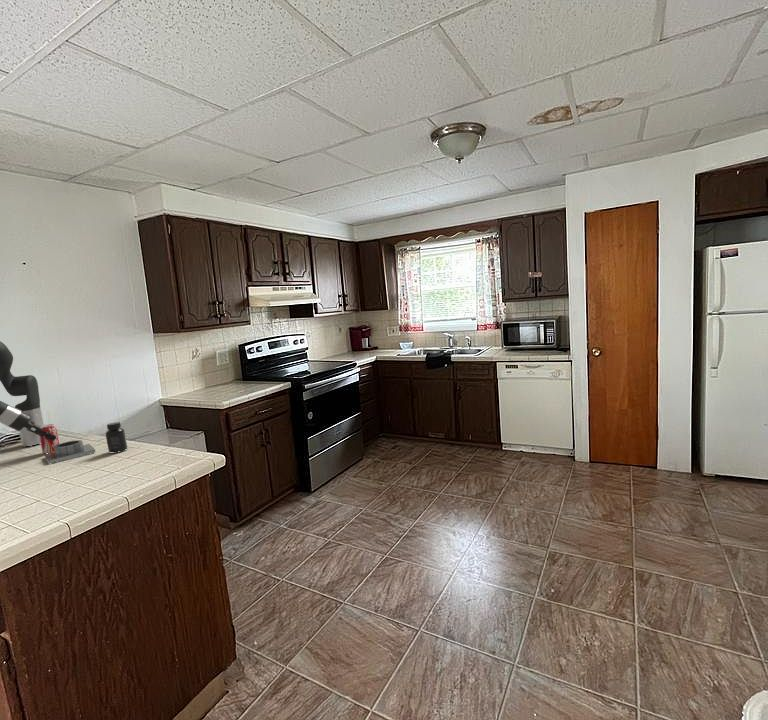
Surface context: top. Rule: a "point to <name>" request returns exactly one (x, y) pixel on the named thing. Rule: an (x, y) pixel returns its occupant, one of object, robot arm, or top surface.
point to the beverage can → (46, 443)
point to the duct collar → (69, 451)
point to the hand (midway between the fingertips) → (53, 437)
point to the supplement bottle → (116, 437)
